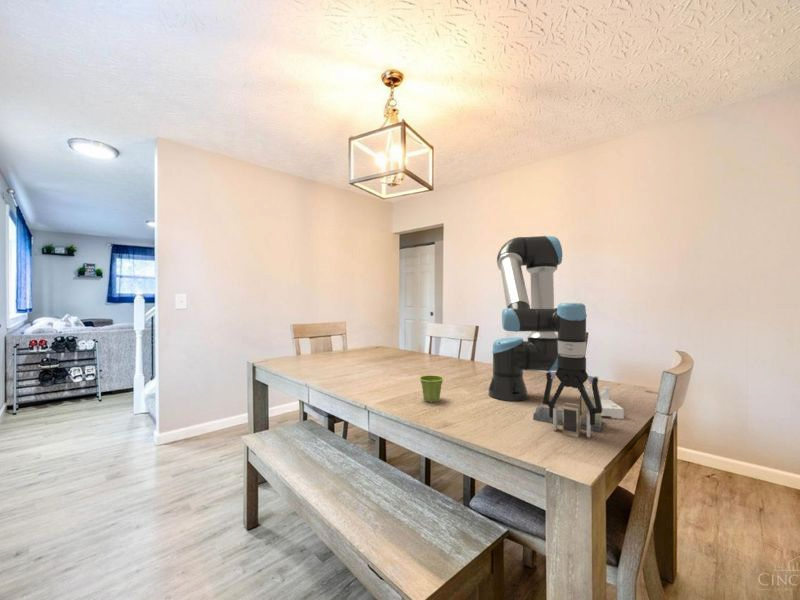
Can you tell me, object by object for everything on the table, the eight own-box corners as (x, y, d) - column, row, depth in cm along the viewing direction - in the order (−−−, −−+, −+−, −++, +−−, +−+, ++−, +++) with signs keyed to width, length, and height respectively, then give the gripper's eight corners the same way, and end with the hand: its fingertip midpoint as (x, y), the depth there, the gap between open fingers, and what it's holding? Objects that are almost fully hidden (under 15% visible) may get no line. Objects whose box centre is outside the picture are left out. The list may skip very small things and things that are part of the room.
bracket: (585, 406, 125) (585, 385, 125) (606, 406, 124) (606, 386, 124) (600, 418, 112) (600, 395, 112) (623, 419, 111) (623, 396, 111)
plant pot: (448, 401, 131) (448, 379, 131) (427, 405, 126) (427, 382, 126) (435, 395, 139) (435, 374, 139) (415, 398, 135) (415, 376, 135)
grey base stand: (533, 419, 111) (533, 390, 111) (540, 410, 119) (540, 383, 119) (600, 432, 100) (600, 400, 100) (602, 421, 109) (602, 392, 109)
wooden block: (577, 437, 97) (577, 409, 97) (562, 434, 99) (562, 407, 99) (580, 431, 101) (580, 404, 101) (565, 428, 103) (565, 402, 103)
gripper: (531, 353, 103) (531, 428, 103) (612, 360, 91) (612, 445, 91) (536, 350, 109) (537, 420, 109) (614, 356, 97) (614, 435, 97)
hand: (571, 431), depth 100 cm, fingers open, 8 cm apart
